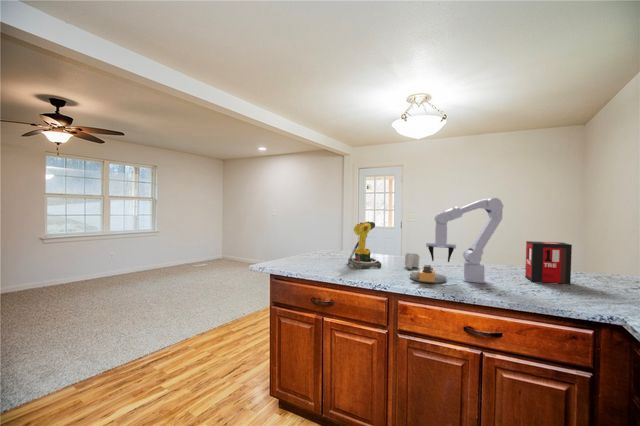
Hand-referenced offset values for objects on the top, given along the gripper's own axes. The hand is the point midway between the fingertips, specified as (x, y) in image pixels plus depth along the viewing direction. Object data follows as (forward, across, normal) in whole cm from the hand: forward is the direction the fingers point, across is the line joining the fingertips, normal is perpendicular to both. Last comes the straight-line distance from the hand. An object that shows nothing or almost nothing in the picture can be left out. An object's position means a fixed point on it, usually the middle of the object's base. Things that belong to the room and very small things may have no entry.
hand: (440, 261), depth 159 cm
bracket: (+8, -8, -10) cm, 15 cm away
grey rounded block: (+10, -17, +21) cm, 29 cm away
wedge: (+8, -6, -10) cm, 14 cm away
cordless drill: (+10, -45, +18) cm, 49 cm away
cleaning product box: (+10, +51, +17) cm, 55 cm away
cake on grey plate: (+9, -6, -3) cm, 12 cm away
